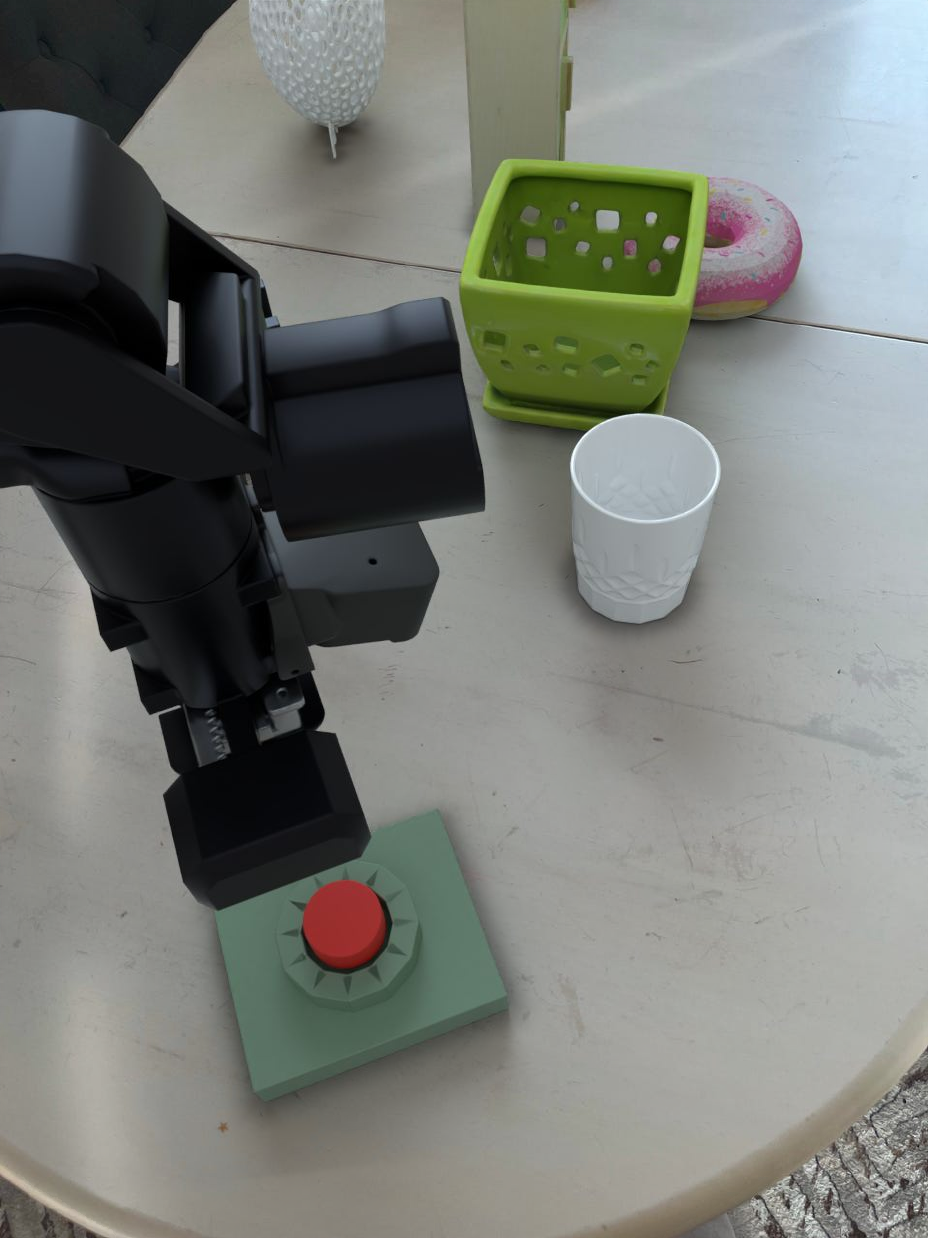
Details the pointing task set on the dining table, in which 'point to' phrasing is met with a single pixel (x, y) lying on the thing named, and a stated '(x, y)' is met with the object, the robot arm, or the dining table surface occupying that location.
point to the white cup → (640, 513)
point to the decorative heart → (321, 55)
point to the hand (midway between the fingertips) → (267, 756)
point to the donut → (740, 251)
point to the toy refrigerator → (516, 85)
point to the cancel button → (344, 924)
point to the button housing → (373, 992)
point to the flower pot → (581, 290)
